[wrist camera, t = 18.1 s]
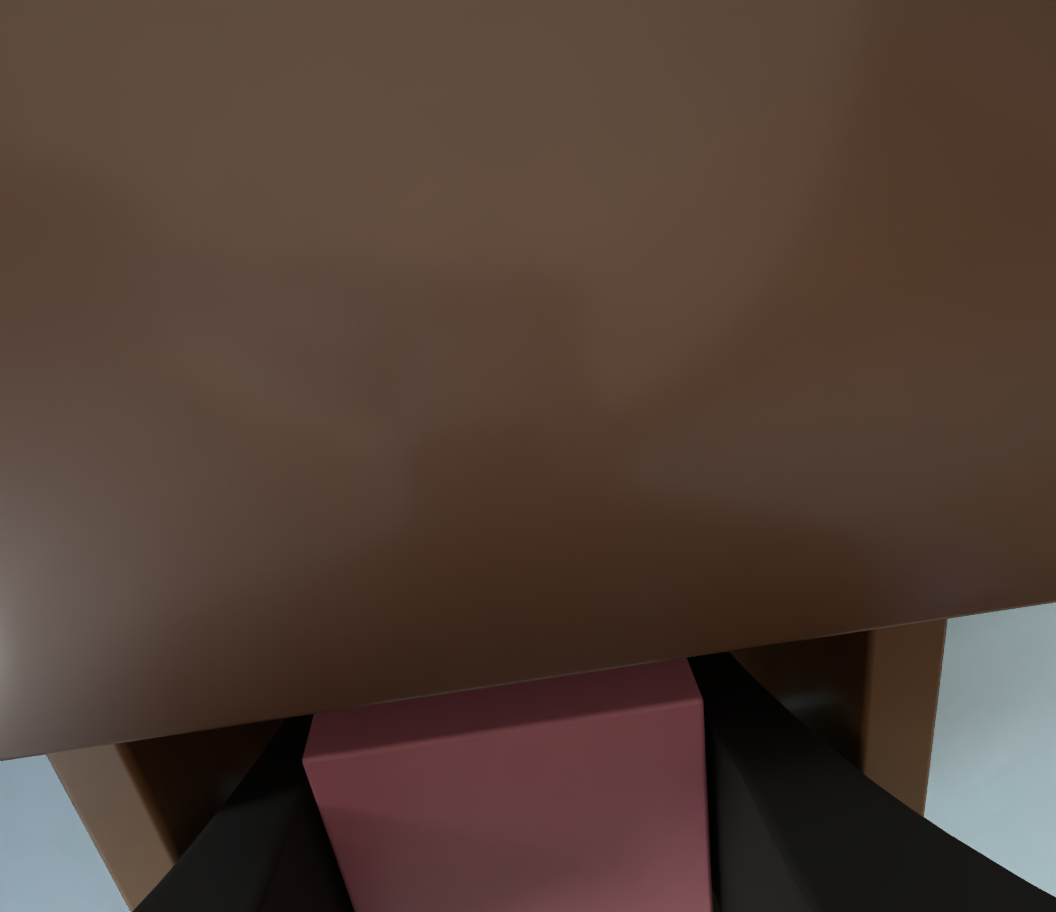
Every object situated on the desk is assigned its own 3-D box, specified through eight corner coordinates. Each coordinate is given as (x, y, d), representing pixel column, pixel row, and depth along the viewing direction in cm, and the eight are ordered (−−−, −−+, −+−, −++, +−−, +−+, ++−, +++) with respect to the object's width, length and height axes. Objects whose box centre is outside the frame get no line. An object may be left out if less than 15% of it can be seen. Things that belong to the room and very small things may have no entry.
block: (646, 714, 13) (716, 955, 10) (409, 750, 13) (385, 1005, 10) (628, 505, 12) (705, 699, 8) (354, 546, 12) (299, 762, 8)
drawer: (783, 903, 18) (915, 1238, 13) (355, 968, 18) (306, 1332, 13) (794, 102, 11) (1110, 99, 5) (77, 207, 11) (-310, 309, 5)
